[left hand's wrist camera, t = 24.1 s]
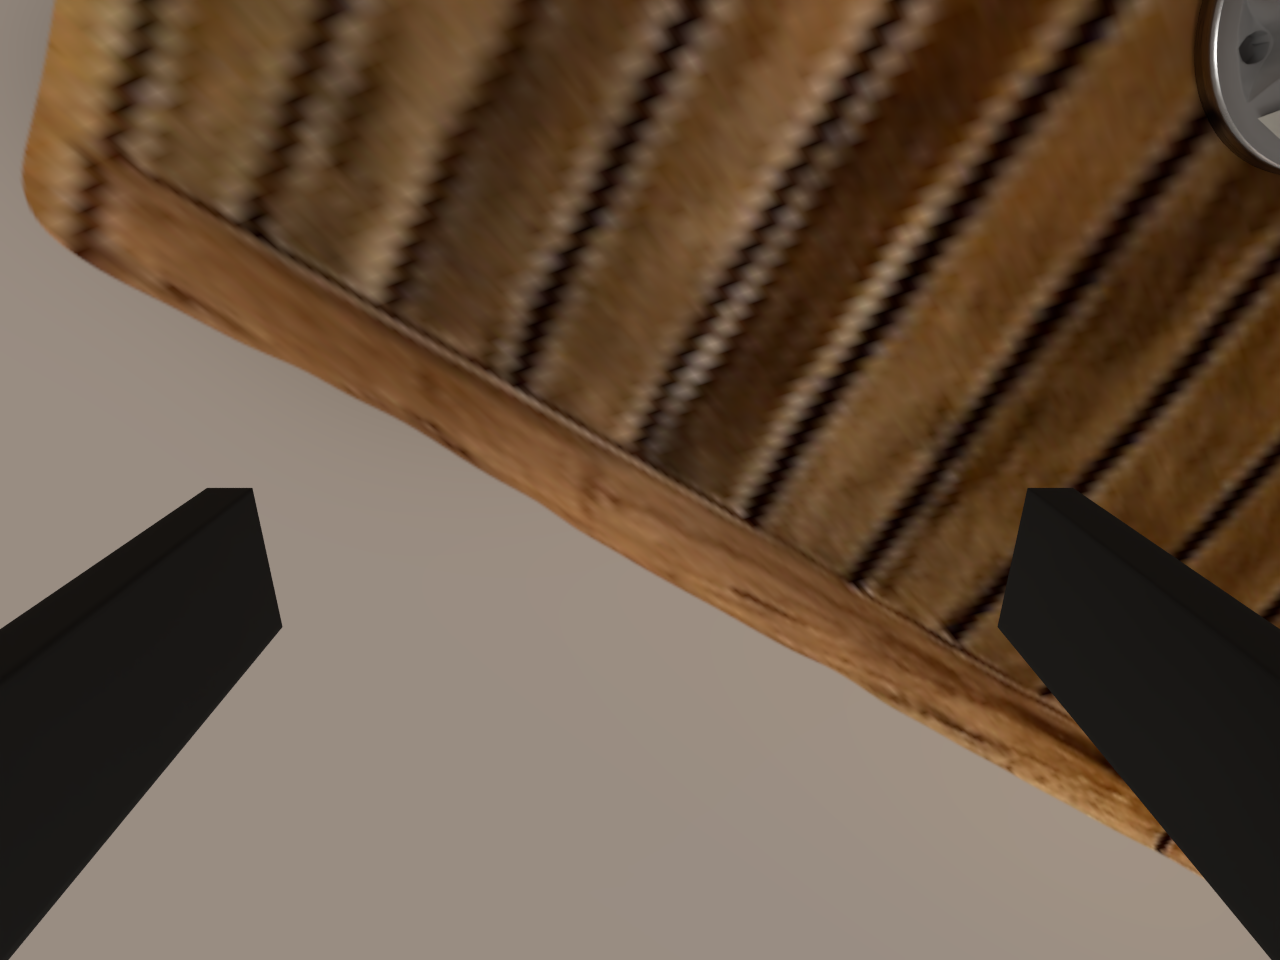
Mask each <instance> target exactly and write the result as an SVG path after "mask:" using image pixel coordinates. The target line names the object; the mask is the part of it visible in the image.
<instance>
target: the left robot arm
mask: <svg viewBox="0 0 1280 960" xmlns="http://www.w3.org/2000/svg"><path fill="white" fill-rule="evenodd" d="M1195 74H1196V82H1197V88H1198V93H1199V97H1200V100H1201V103H1202V107H1203V109H1204V112H1205V114H1206V116H1207V119H1208V121H1209V123H1210V124H1211V126H1212V128H1213V129H1214V131H1215V133H1216V134H1217V135H1218V137H1219V138H1220V139H1221V140H1222V142H1223V143H1224V144H1225V145H1226V146H1227V147H1228V148H1229V149H1230V150H1231V151H1232V152H1233V153H1234V154H1236V155H1237V156H1238V157H1240V158H1241V159H1242V160H1244V161H1246V162H1248V163H1249V164H1251V165H1253V166H1255V167H1257V168H1260V169H1262V170H1265V171H1268V172H1272V173H1275V174H1279V175H1280V0H1203V2H1202V6H1201V9H1200V13H1199V19H1198V24H1197V30H1196V40H1195ZM281 628H282V623H281V618H280V614H279V609H278V604H277V600H276V595H275V590H274V586H273V581H272V577H271V572H270V567H269V563H268V558H267V554H266V549H265V544H264V540H263V535H262V530H261V526H260V521H259V517H258V512H257V507H256V503H255V498H254V494H253V489H252V488H206V489H205V490H204V491H202V492H201V493H199V494H198V495H196V496H195V497H193V498H192V499H190V500H189V501H187V502H186V503H184V504H183V505H182V506H180V507H179V508H177V509H176V510H174V511H173V512H171V513H170V514H168V515H167V516H165V517H164V518H162V519H161V520H160V521H158V522H157V523H155V524H154V525H152V526H151V527H149V528H148V529H146V530H145V531H143V532H142V533H141V534H139V535H138V536H136V537H135V538H133V539H132V540H130V541H129V542H127V543H126V544H124V545H123V546H121V547H120V548H119V549H117V550H116V551H114V552H113V553H111V554H110V555H108V556H107V557H105V558H104V559H102V560H101V561H99V562H98V563H97V564H95V565H94V566H92V567H91V568H89V569H88V570H86V571H85V572H83V573H82V574H80V575H79V576H78V577H76V578H75V579H73V580H72V581H70V582H69V583H67V584H66V585H64V586H63V587H61V588H60V589H58V590H57V591H56V592H54V593H53V594H51V595H50V596H48V597H47V598H45V599H44V600H42V601H41V602H39V603H38V604H37V605H35V606H34V607H32V608H31V609H29V610H28V611H26V612H25V613H23V614H22V615H20V616H19V617H18V618H16V619H15V620H13V621H12V622H10V623H9V624H7V625H6V626H4V627H3V628H1V629H0V960H9V958H10V957H11V956H12V955H13V954H14V952H15V951H16V950H17V949H18V948H19V946H20V945H21V944H22V943H23V941H24V940H25V939H26V938H27V937H28V935H29V934H30V933H31V932H32V931H33V929H34V928H35V927H36V926H37V924H38V923H39V922H40V921H41V920H42V918H43V917H44V916H45V915H46V914H47V912H48V911H49V910H50V909H51V907H52V906H53V905H54V904H55V903H56V901H57V900H58V899H59V898H60V897H61V895H62V894H63V893H64V892H65V890H66V889H67V888H68V887H69V886H70V884H71V883H72V882H73V881H74V880H75V878H76V877H77V876H78V875H79V873H80V872H81V871H82V870H83V869H84V867H85V866H86V865H87V864H88V862H89V861H90V860H91V859H92V858H93V856H94V855H95V854H96V853H97V852H98V850H99V849H100V848H101V847H102V845H103V844H104V843H105V842H106V841H107V839H108V838H109V837H110V836H111V835H112V833H113V832H114V831H115V830H116V828H117V827H118V826H119V825H120V824H121V822H122V821H123V820H124V819H125V817H126V816H127V815H128V814H129V813H130V811H131V810H132V809H133V808H134V807H135V805H136V804H137V803H138V802H139V801H140V799H141V798H142V797H143V796H144V794H145V793H146V792H147V791H148V790H149V788H150V787H151V786H152V785H153V784H154V782H155V781H156V780H157V779H158V777H159V776H160V775H161V774H162V772H163V771H164V770H165V769H166V768H167V767H168V765H169V764H170V763H171V762H172V760H173V759H174V758H175V757H176V756H177V754H178V753H179V752H180V751H181V749H182V748H183V747H184V746H185V745H186V743H187V742H188V741H189V740H190V739H191V737H192V736H193V735H194V734H195V732H196V731H197V730H198V729H199V728H200V726H201V725H202V724H203V723H204V722H205V720H206V719H207V718H208V717H209V715H210V714H211V713H212V712H213V711H214V709H215V708H216V707H217V706H218V705H219V703H220V702H221V701H222V700H223V698H224V697H225V696H226V695H227V694H228V692H229V691H230V690H231V689H232V687H233V686H234V685H235V684H236V683H237V681H238V680H239V679H240V678H241V677H242V675H243V674H244V673H245V672H246V671H247V669H248V668H249V667H250V666H251V664H252V663H253V662H254V661H255V660H256V658H257V657H258V656H259V655H260V654H261V652H262V651H263V650H264V649H265V647H266V646H267V645H268V644H269V643H270V641H271V640H272V639H273V638H274V636H275V635H276V634H277V633H278V632H279V630H280V629H281ZM998 628H999V629H1000V630H1001V632H1002V633H1003V634H1004V635H1005V637H1006V638H1007V639H1008V640H1009V641H1010V643H1011V644H1012V645H1013V646H1014V647H1015V649H1016V650H1017V651H1018V652H1019V654H1020V655H1021V656H1022V657H1023V658H1024V660H1025V661H1026V662H1027V663H1028V664H1029V666H1030V667H1031V668H1032V669H1033V671H1034V672H1035V673H1036V674H1037V675H1038V677H1039V678H1040V679H1041V680H1042V681H1043V683H1044V684H1045V685H1046V686H1047V688H1048V689H1049V690H1050V691H1051V692H1052V694H1053V695H1054V696H1055V697H1056V698H1057V700H1058V701H1059V702H1060V703H1061V705H1062V706H1063V707H1064V708H1065V709H1066V711H1067V712H1068V713H1069V714H1070V715H1071V717H1072V718H1073V719H1074V720H1075V722H1076V723H1077V724H1078V725H1079V726H1080V728H1081V729H1082V730H1083V731H1084V732H1085V734H1086V735H1087V736H1088V737H1089V739H1090V740H1091V741H1092V742H1093V743H1094V745H1095V746H1096V747H1097V748H1098V749H1099V751H1100V752H1101V753H1102V754H1103V756H1104V757H1105V758H1106V759H1107V760H1108V762H1109V763H1110V764H1111V765H1112V767H1113V768H1114V769H1115V770H1116V771H1117V773H1118V774H1119V775H1120V776H1121V777H1122V779H1123V780H1124V781H1125V782H1126V784H1127V785H1128V786H1129V787H1130V788H1131V790H1132V791H1133V792H1134V793H1135V794H1136V796H1137V797H1138V798H1139V799H1140V801H1141V802H1142V803H1143V804H1144V805H1145V807H1146V808H1147V809H1148V810H1149V811H1150V813H1151V814H1152V815H1153V816H1154V818H1155V819H1156V820H1157V821H1158V822H1159V824H1160V825H1161V826H1162V827H1163V828H1164V830H1165V831H1166V832H1167V833H1168V835H1169V836H1170V837H1171V838H1172V839H1173V841H1174V842H1175V843H1176V844H1177V845H1178V847H1179V848H1180V849H1181V850H1182V852H1183V853H1184V854H1185V855H1186V856H1187V858H1188V859H1189V860H1190V861H1191V862H1192V864H1193V865H1194V866H1195V867H1196V869H1197V870H1198V871H1199V872H1200V873H1201V875H1202V876H1203V877H1204V878H1205V880H1206V881H1207V882H1208V883H1209V884H1210V886H1211V887H1212V888H1213V889H1214V890H1215V892H1216V893H1217V894H1218V895H1219V896H1220V898H1221V899H1222V900H1223V901H1224V903H1225V904H1226V905H1227V906H1228V907H1229V909H1230V910H1231V911H1232V912H1233V914H1234V915H1235V916H1236V917H1237V918H1238V920H1239V921H1240V922H1241V923H1242V924H1243V926H1244V927H1245V928H1246V929H1247V930H1248V932H1249V933H1250V934H1251V935H1252V937H1253V938H1254V939H1255V940H1256V941H1257V943H1258V944H1259V945H1260V946H1261V948H1262V949H1263V950H1264V951H1265V952H1266V954H1267V955H1268V956H1269V957H1270V958H1271V960H1280V629H1279V628H1277V627H1276V626H1274V625H1273V624H1271V623H1270V622H1268V621H1267V620H1265V619H1264V618H1263V617H1261V616H1260V615H1258V614H1257V613H1255V612H1254V611H1252V610H1251V609H1249V608H1248V607H1246V606H1245V605H1243V604H1242V603H1241V602H1239V601H1238V600H1236V599H1235V598H1233V597H1232V596H1230V595H1229V594H1227V593H1226V592H1224V591H1223V590H1222V589H1220V588H1219V587H1217V586H1216V585H1214V584H1213V583H1211V582H1210V581H1208V580H1207V579H1205V578H1204V577H1202V576H1201V575H1200V574H1198V573H1197V572H1195V571H1194V570H1192V569H1191V568H1189V567H1188V566H1186V565H1185V564H1183V563H1182V562H1181V561H1179V560H1178V559H1176V558H1175V557H1173V556H1172V555H1170V554H1169V553H1167V552H1166V551H1164V550H1163V549H1161V548H1160V547H1159V546H1157V545H1156V544H1154V543H1153V542H1151V541H1150V540H1148V539H1147V538H1145V537H1144V536H1142V535H1141V534H1140V533H1138V532H1137V531H1135V530H1134V529H1132V528H1131V527H1129V526H1128V525H1126V524H1125V523H1123V522H1122V521H1120V520H1119V519H1118V518H1116V517H1115V516H1113V515H1112V514H1110V513H1109V512H1107V511H1106V510H1104V509H1103V508H1101V507H1100V506H1099V505H1097V504H1096V503H1094V502H1093V501H1091V500H1090V499H1088V498H1087V497H1085V496H1084V495H1082V494H1081V493H1079V492H1078V491H1077V490H1075V489H1074V488H1028V489H1027V494H1026V498H1025V503H1024V507H1023V512H1022V517H1021V521H1020V526H1019V530H1018V535H1017V540H1016V544H1015V549H1014V554H1013V558H1012V563H1011V567H1010V572H1009V577H1008V581H1007V586H1006V590H1005V595H1004V600H1003V604H1002V609H1001V614H1000V618H999V623H998Z"/></svg>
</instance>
